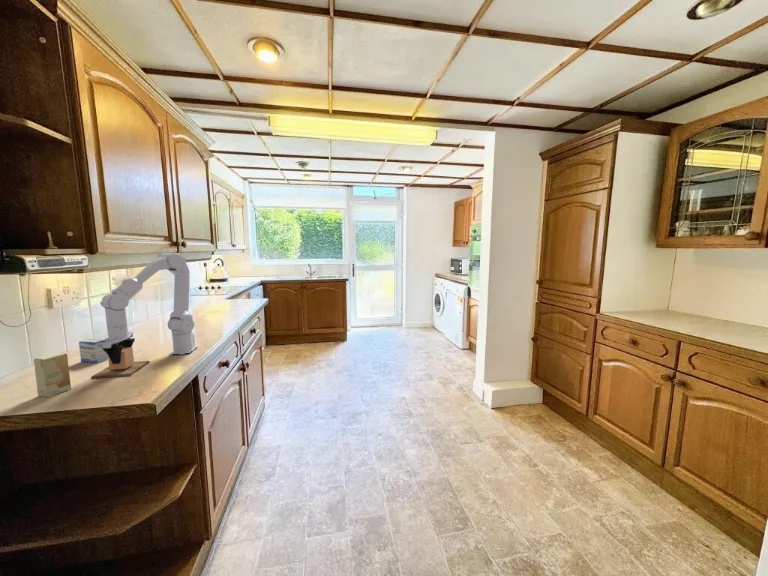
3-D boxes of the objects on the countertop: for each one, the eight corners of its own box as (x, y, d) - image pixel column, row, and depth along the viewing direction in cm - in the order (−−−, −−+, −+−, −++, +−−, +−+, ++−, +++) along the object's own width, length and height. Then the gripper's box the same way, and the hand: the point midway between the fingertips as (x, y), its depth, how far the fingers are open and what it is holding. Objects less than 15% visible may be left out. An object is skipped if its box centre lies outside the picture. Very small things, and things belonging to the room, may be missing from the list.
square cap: (118, 364, 117) (116, 347, 116) (134, 363, 118) (132, 346, 117) (109, 369, 112) (107, 352, 111) (126, 368, 113) (124, 351, 112)
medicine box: (80, 362, 123) (77, 341, 122) (92, 358, 127) (89, 338, 126) (97, 363, 122) (95, 342, 121) (109, 359, 127) (106, 339, 125)
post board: (114, 365, 120) (112, 348, 119) (149, 362, 123) (147, 345, 122) (91, 378, 107) (88, 359, 107) (130, 375, 110) (128, 357, 109)
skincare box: (47, 397, 94) (42, 359, 92) (37, 396, 95) (31, 358, 93) (72, 388, 100) (67, 352, 98) (62, 387, 101) (57, 351, 99)
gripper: (116, 321, 119) (120, 355, 121) (90, 331, 105) (95, 369, 107) (137, 320, 120) (141, 353, 122) (114, 330, 106) (118, 367, 108)
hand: (121, 360), depth 115 cm, fingers closed on square cap, 5 cm apart
